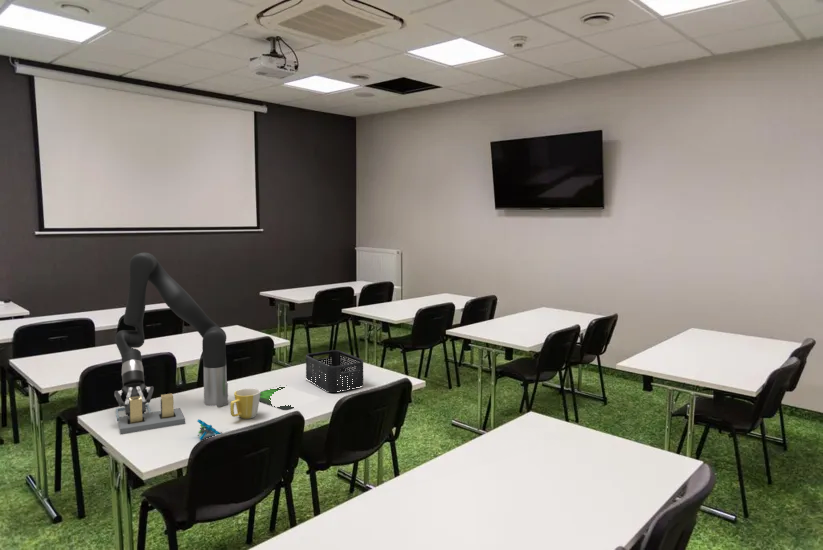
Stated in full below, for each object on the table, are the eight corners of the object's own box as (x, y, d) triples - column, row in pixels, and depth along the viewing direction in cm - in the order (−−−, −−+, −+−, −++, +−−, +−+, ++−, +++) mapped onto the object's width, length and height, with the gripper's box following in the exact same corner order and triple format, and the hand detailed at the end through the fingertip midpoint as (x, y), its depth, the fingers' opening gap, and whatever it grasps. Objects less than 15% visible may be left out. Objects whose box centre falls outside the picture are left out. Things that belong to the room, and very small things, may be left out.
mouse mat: (323, 398, 241) (323, 396, 241) (286, 412, 223) (286, 409, 223) (282, 386, 256) (282, 384, 256) (245, 398, 238) (245, 395, 238)
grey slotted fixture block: (180, 414, 215) (180, 407, 215) (185, 426, 204) (185, 418, 204) (118, 424, 204) (118, 417, 204) (120, 436, 193) (120, 429, 193)
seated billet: (172, 417, 210) (171, 393, 209) (173, 421, 206) (173, 396, 205) (160, 419, 208) (160, 395, 206) (161, 423, 204) (161, 398, 203)
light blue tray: (148, 408, 222) (148, 403, 221) (151, 418, 211) (151, 413, 211) (115, 413, 215) (115, 408, 215) (117, 423, 205) (117, 418, 205)
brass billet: (141, 420, 204) (141, 395, 203) (142, 424, 201) (141, 398, 200) (129, 422, 202) (128, 397, 201) (129, 426, 199) (129, 400, 197)
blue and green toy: (226, 434, 194) (205, 420, 189) (216, 449, 191) (194, 434, 186) (214, 429, 202) (194, 415, 197) (204, 443, 199) (184, 429, 194)
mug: (251, 410, 223) (251, 386, 222) (265, 416, 217) (265, 391, 216) (221, 419, 212) (221, 393, 211) (236, 425, 206) (235, 399, 205)
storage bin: (303, 379, 267) (303, 353, 266) (336, 373, 279) (337, 348, 278) (330, 395, 245) (331, 367, 243) (366, 388, 257) (366, 361, 255)
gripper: (112, 371, 202) (114, 412, 193) (153, 367, 209) (157, 406, 200) (112, 381, 207) (114, 421, 198) (152, 376, 214) (156, 415, 205)
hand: (136, 413), depth 199 cm, fingers closed on brass billet, 4 cm apart
